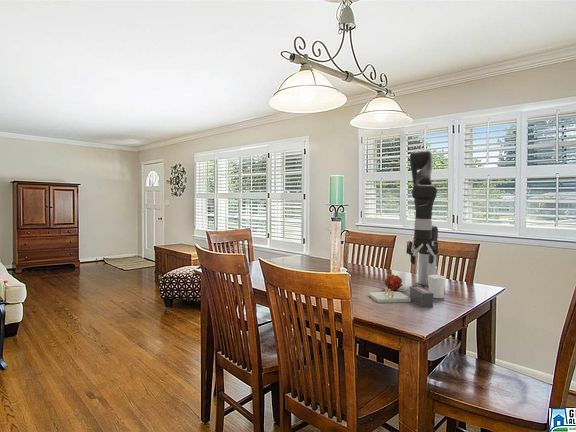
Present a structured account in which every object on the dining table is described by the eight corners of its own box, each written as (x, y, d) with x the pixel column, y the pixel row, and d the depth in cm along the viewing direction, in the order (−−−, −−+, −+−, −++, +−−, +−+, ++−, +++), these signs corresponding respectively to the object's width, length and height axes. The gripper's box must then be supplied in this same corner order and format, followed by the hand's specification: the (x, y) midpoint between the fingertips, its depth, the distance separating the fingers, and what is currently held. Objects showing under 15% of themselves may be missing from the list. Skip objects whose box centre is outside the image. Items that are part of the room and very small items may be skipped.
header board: (399, 294, 181) (399, 285, 181) (410, 301, 169) (411, 292, 169) (368, 295, 179) (368, 286, 178) (378, 302, 167) (378, 293, 167)
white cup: (444, 295, 181) (445, 275, 181) (445, 299, 174) (446, 278, 173) (427, 293, 184) (428, 274, 183) (427, 297, 176) (428, 277, 176)
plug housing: (419, 298, 174) (419, 286, 174) (432, 306, 162) (433, 292, 162) (409, 299, 173) (410, 286, 173) (422, 306, 162) (423, 293, 161)
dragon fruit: (398, 290, 195) (390, 298, 186) (385, 279, 198) (377, 287, 189) (407, 279, 191) (400, 287, 182) (394, 268, 194) (386, 276, 185)
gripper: (433, 227, 171) (431, 262, 172) (404, 227, 169) (403, 262, 170) (442, 229, 163) (440, 265, 164) (412, 229, 161) (411, 265, 162)
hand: (421, 263), depth 167 cm, fingers open, 8 cm apart
